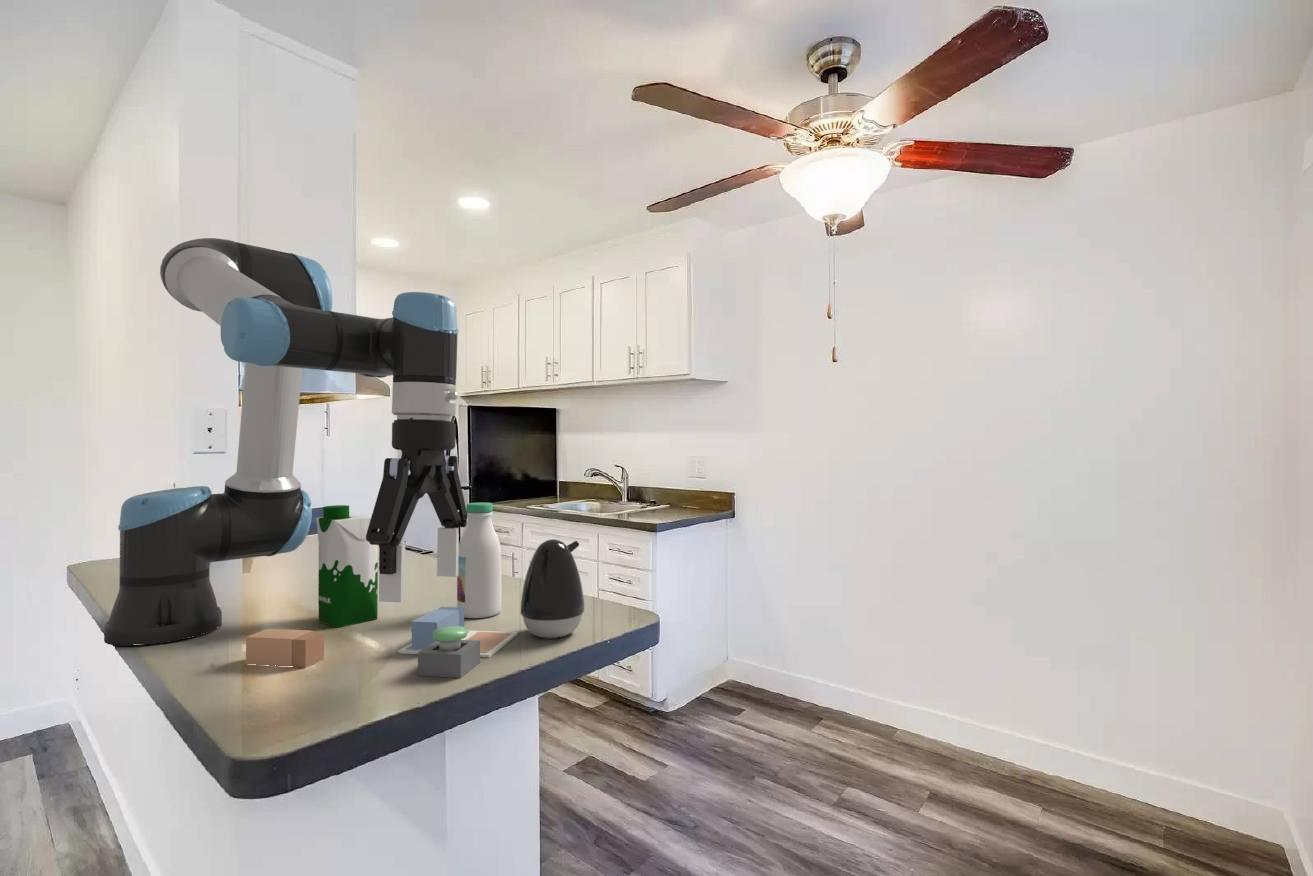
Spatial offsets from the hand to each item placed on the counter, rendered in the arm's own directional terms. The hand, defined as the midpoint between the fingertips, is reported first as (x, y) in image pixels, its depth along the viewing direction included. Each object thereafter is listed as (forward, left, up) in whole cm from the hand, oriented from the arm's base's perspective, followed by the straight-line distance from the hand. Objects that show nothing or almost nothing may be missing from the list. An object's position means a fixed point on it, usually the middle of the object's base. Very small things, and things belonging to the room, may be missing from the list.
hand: (422, 587), depth 79 cm
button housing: (0, +7, -12) cm, 14 cm away
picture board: (-3, +17, -12) cm, 21 cm away
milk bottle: (-8, +34, -13) cm, 37 cm away
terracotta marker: (-24, +6, -13) cm, 28 cm away
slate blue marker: (-6, +17, -12) cm, 22 cm away
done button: (0, +7, -10) cm, 12 cm away
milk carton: (-29, +27, -13) cm, 42 cm away
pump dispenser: (+9, +24, -13) cm, 29 cm away
